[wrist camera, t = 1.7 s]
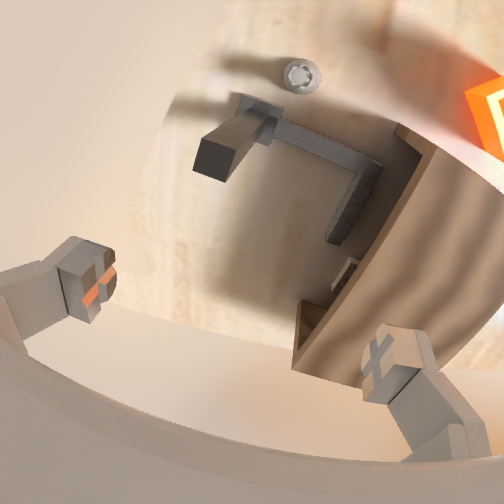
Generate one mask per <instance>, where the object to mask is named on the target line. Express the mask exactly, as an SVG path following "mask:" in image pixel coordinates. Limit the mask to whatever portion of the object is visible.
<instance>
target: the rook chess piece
mask: <svg viewBox="0 0 504 504" xmlns="http://www.w3.org/2000/svg"><path fill="white" fill-rule="evenodd" d="M283 80H284V83H285V85H286V86H287V87H288V88H289V89H290V90H291V91H292V92H295V93H297V94H308V93H311V92H313V91H314V90H315V89H317V88H318V86H319V84H320V82H321V74H320V71H319V69H318V67H317V66H316V65H315V64H314V63H313V62H310V61H308V60H306V59H297V60H294V61H291V62H290V63H289V64H288V65H287V66H286V67H285V69H284V71H283Z"/></svg>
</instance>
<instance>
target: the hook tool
mask: <svg viewBox="0 0 504 504" xmlns="http://www.w3.org/2000/svg"><path fill="white" fill-rule="evenodd" d="M283 111H284V107H281V106H278V105H276V104H273V103H270V102H268V101H265V100H262V99H259V98H257V97H254V96H251V95H248V94H243V97H242V99H241V102H240V105H239V108H238V111H237V113H236V116H235V117H234V118H232V119H231V120H229V121H228V122H226V123H224V124H223V125H221V126H220V127H218V128H216V129H215V130H213V131H212V132H210V133H209V134H207V135H206V136H204V137H202V139H201V142H200V146H199V149H198V152H197V156H196V159H195V163H194V166H193V170H192V171H195V172H198V173H200V174H203V175H206V176H209V177H211V178H214V179H217V180H219V181H222V182H226V181H227V180H228V178H229V177H230V176H231V174H232V173H233V171H234V170H235V169H236V167H237V166H238V165H239V163H240V162H241V161H242V159H243V158H244V157H245V155H246V154H247V153H248V151H249V150H250V149H251V147H252V146H253V145H254V143H255V142H258V143H261V144H263V145H266V146H268V147H269V145H270V143H271V140H272V138H273V137H274V138H276V139H279V140H281V141H284V142H286V143H289V144H291V145H294V146H296V147H298V148H301V149H303V150H306V151H308V152H310V153H313V154H315V155H317V156H319V157H322V158H324V159H326V160H328V161H331V162H333V163H335V164H337V165H339V166H342V167H344V168H346V169H348V170H350V171H352V172H354V173H356V176H355V178H354V180H353V181H352V183H351V185H350V187H349V189H348V191H347V193H346V195H345V197H344V199H343V201H342V203H341V205H340V206H339V208H338V210H337V212H336V214H335V216H334V218H333V220H332V221H331V223H330V225H329V227H328V229H327V231H326V242H329V243H331V244H333V245H336V246H338V247H340V245H341V244H342V242H343V240H344V238H345V237H346V235H347V233H348V232H349V230H350V228H351V226H352V225H353V223H354V221H355V219H356V218H357V216H358V214H359V212H360V210H361V209H362V207H363V205H364V203H365V201H366V200H367V198H368V196H369V194H370V192H371V190H372V189H373V187H374V185H375V183H376V181H377V179H378V177H379V175H380V174H381V172H382V170H383V168H384V167H383V166H382V165H381V163H380V162H379V161H377V160H375V159H373V158H371V157H369V156H367V155H365V154H363V153H361V152H359V151H357V150H355V149H353V148H350V147H348V146H346V145H344V144H342V143H340V142H338V141H336V140H333V139H331V138H329V137H327V136H324V135H322V134H320V133H318V132H315V131H313V130H311V129H308V128H306V127H304V126H301V125H299V124H296V123H294V122H291V121H289V120H286V119H284V118H281V115H282V113H283Z"/></svg>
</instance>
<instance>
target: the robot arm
mask: <svg viewBox="0 0 504 504" xmlns="http://www.w3.org/2000/svg"><path fill="white" fill-rule="evenodd" d="M114 262H115V251H114V250H112V249H111V248H109V247H105V246H103V245H100V244H97V243H94V242H91V241H89V240H85V239H82V238H79V237H77V236H71V237H69V238H68V239H67V240H66V241H65V242H64V243H62V244H61V245H60V246H59V247H58V248H57V249H56V250H54V251H53V252H52V253H51V254H50V255H49V256H47V257H46V258H45V259H44V260H43V261H42V262H41V261H34V262H31V263H28V264H25V265H22V266H19V267H15V268H13V269H10V270H6V271H3V272H0V504H504V454H502V455H496V456H492V455H491V450H490V445H489V440H488V436H487V431H486V427H485V423H484V422H483V420H482V419H481V418H480V417H479V415H478V414H477V413H476V411H475V410H474V409H473V408H472V407H471V405H470V404H469V403H468V402H467V401H466V399H465V398H464V397H463V396H462V395H461V393H460V392H459V391H458V390H457V389H456V387H454V385H453V384H452V383H451V382H450V381H449V379H448V378H447V377H446V376H445V375H444V374H443V373H442V372H439V371H438V367H437V363H436V360H435V356H434V353H433V349H432V346H431V343H430V339H429V336H428V334H427V333H426V332H425V331H421V330H416V329H408V328H404V327H399V326H395V325H390V324H386V323H382V324H381V325H380V326H379V327H378V329H377V331H376V339H374V340H372V341H370V342H369V343H368V345H367V346H366V348H365V350H364V353H363V356H362V361H361V371H362V373H363V374H364V375H365V377H366V379H365V380H364V381H363V383H362V387H363V401H367V402H372V403H378V404H385V405H388V406H387V407H388V408H389V410H390V412H391V414H392V415H393V417H394V419H395V421H396V422H397V425H398V426H399V428H400V430H401V432H402V433H403V435H404V437H405V439H406V441H407V442H408V444H409V446H410V448H411V450H412V453H411V454H409V455H408V456H406V457H405V458H403V459H402V460H401V461H400V462H374V461H358V460H346V459H335V458H326V457H319V456H311V455H304V454H298V453H291V452H286V451H280V450H275V449H270V448H265V447H260V446H255V445H251V444H247V443H242V442H238V441H234V440H230V439H226V438H222V437H219V436H215V435H212V434H208V433H205V432H201V431H198V430H195V429H191V428H188V427H185V426H182V425H179V424H176V423H173V422H170V421H167V420H164V419H161V418H158V417H156V416H153V415H150V414H148V413H145V412H143V411H140V410H137V409H135V408H132V407H130V406H128V405H125V404H123V403H120V402H118V401H116V400H113V399H111V398H109V397H107V396H104V395H102V394H100V393H98V392H96V391H94V390H92V389H89V388H87V387H85V386H83V385H81V384H79V383H77V382H75V381H73V380H71V379H69V378H68V377H66V376H64V375H62V374H60V373H58V372H56V371H54V370H53V369H51V368H49V367H47V366H46V365H44V364H42V363H40V362H39V361H37V360H35V359H34V358H32V357H30V356H28V351H27V349H26V347H25V345H24V343H23V340H25V339H27V338H29V337H31V336H33V335H34V334H36V333H38V332H40V331H42V330H44V329H45V328H47V327H49V326H51V325H53V324H55V323H57V322H59V321H61V320H62V319H64V318H66V317H68V315H70V316H72V317H74V318H77V319H79V320H82V321H84V322H87V323H89V324H90V323H91V322H92V321H93V320H94V318H95V317H96V315H97V314H98V313H99V312H100V310H101V306H100V303H103V302H106V301H108V300H109V299H110V297H111V296H112V295H113V292H114V290H115V287H116V281H117V274H116V271H115V269H114V268H113V266H112V264H113V263H114Z"/></svg>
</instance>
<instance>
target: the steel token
mask: <svg viewBox="0 0 504 504" xmlns="http://www.w3.org/2000/svg"><path fill="white" fill-rule="evenodd" d="M360 262H361V261H360V260H357V259H355V258H353V257H349V259H348V260H347V262H346V264H345V265H344V267H343V268H342V270H341V271H340V273H339V274H338V276H337V278H336V279H335V281H334V282H333V284H332V285H331V292H332V293H334V294H337V295H339V294H340V292H341V291H342V289H343V288H344V286H345V285H346V283H347V282H348V280H349V279H350V277H351V276H352V274H353V273H354V271H355V270H356V268H357V267H358V265H359V264H360Z"/></svg>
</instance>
